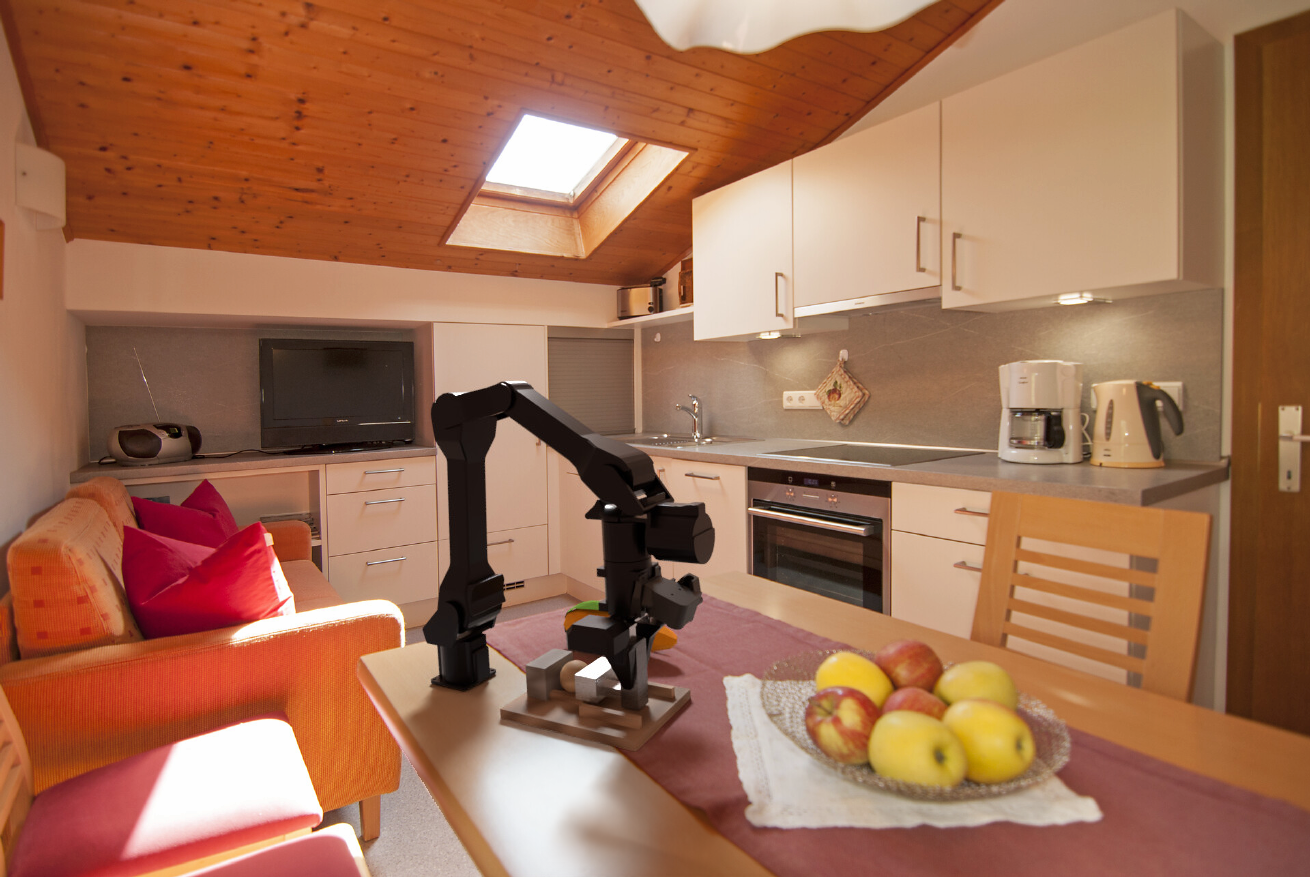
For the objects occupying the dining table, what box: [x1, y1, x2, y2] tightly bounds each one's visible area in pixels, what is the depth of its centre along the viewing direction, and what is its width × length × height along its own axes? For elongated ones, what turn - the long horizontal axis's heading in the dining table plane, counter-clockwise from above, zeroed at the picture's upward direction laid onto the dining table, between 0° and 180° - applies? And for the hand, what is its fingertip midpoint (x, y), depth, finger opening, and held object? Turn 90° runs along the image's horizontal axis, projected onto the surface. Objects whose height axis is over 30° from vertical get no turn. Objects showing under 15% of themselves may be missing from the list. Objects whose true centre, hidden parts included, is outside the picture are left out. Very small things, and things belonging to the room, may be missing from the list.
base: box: [499, 647, 692, 752], centre depth 87 cm, size 19×14×5 cm
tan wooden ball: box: [560, 659, 589, 694], centre depth 88 cm, size 4×4×4 cm
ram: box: [575, 638, 649, 711], centre depth 85 cm, size 8×6×8 cm
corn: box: [562, 599, 678, 652], centre depth 105 cm, size 7×8×20 cm
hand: (633, 684), depth 84 cm, fingers closed on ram, 2 cm apart
